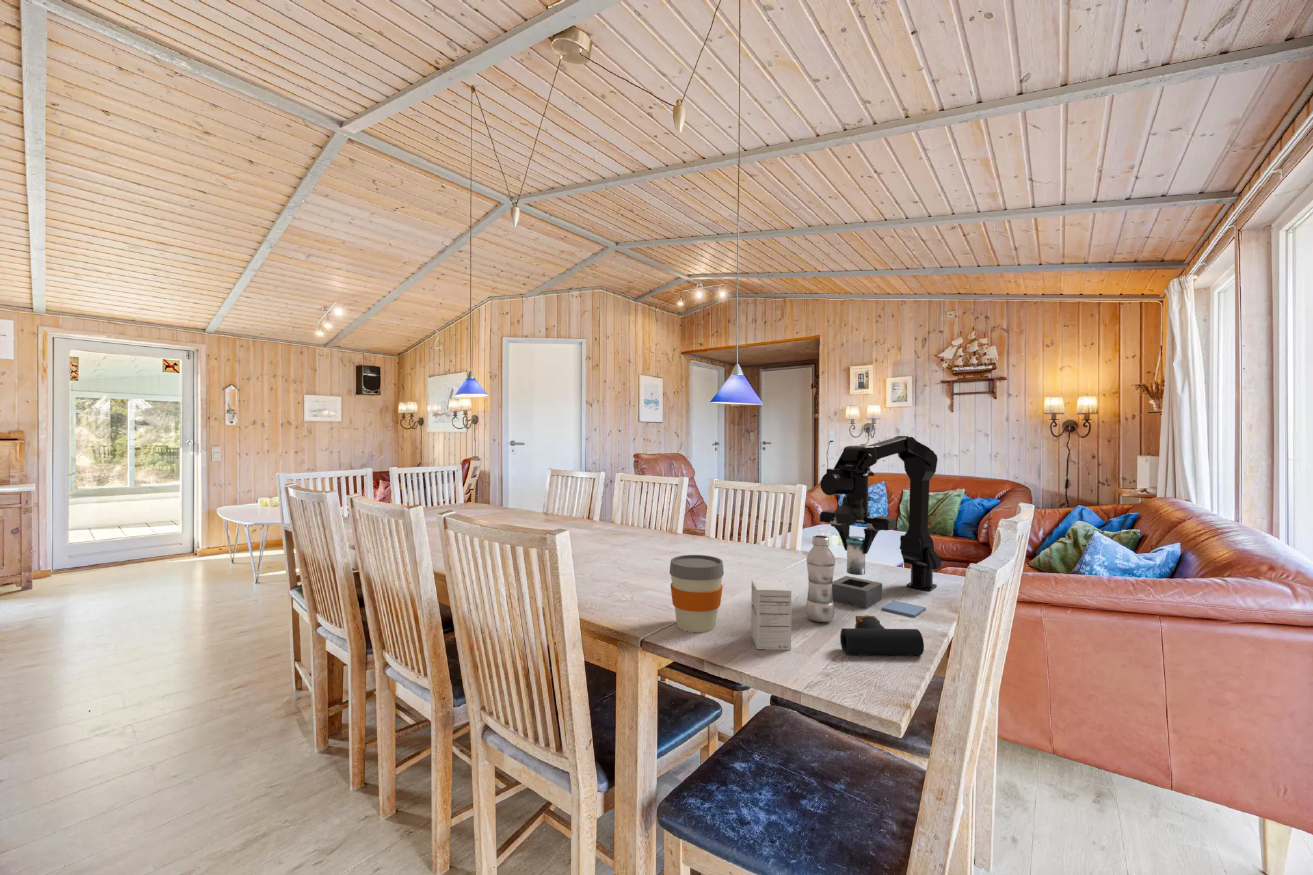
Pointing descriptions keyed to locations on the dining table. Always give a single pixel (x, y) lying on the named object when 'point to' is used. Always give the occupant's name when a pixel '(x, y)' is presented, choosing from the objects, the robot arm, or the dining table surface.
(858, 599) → the housing
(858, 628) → the pipe connector
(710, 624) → the reusable coffee cup
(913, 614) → the mat
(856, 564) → the green lidded jar
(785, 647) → the supplement box
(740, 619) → the dining table surface
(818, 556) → the plastic bottle
